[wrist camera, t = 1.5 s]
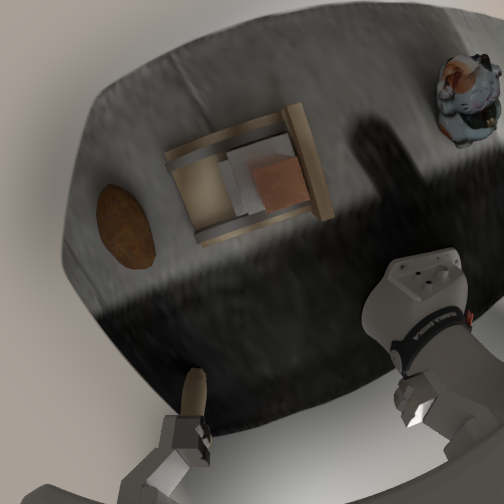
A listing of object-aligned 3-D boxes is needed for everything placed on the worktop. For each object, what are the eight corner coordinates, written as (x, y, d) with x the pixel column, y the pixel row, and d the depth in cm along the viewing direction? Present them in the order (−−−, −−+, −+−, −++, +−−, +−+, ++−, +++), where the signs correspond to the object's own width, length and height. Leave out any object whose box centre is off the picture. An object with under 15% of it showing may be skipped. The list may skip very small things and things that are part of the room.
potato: (135, 267, 37) (118, 291, 30) (94, 198, 33) (68, 210, 26) (173, 246, 36) (162, 268, 30) (131, 172, 32) (109, 179, 25)
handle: (219, 376, 45) (217, 446, 31) (188, 384, 46) (180, 451, 32) (205, 359, 44) (200, 432, 30) (174, 368, 44) (161, 437, 30)
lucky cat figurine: (444, 157, 33) (475, 135, 20) (408, 93, 33) (421, 50, 21) (503, 132, 27) (540, 109, 14) (468, 73, 27) (492, 34, 15)
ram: (283, 134, 30) (309, 127, 19) (301, 191, 33) (334, 214, 22) (217, 156, 31) (208, 160, 20) (238, 212, 33) (240, 246, 22)
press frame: (289, 109, 30) (301, 102, 25) (318, 205, 35) (335, 217, 29) (166, 152, 31) (152, 154, 26) (204, 244, 36) (198, 263, 30)
